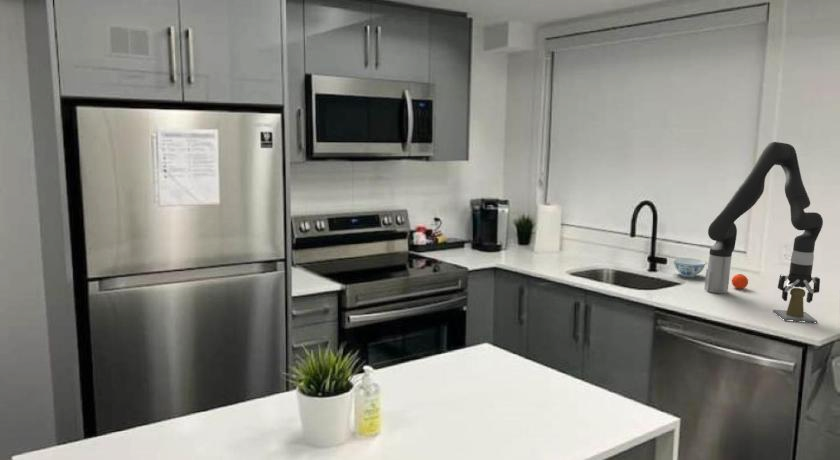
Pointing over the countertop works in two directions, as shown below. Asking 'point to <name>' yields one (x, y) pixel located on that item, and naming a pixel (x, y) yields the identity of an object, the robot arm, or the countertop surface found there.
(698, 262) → the chinaware
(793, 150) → the robot arm
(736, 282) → the clementine
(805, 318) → the trivet
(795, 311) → the cork
